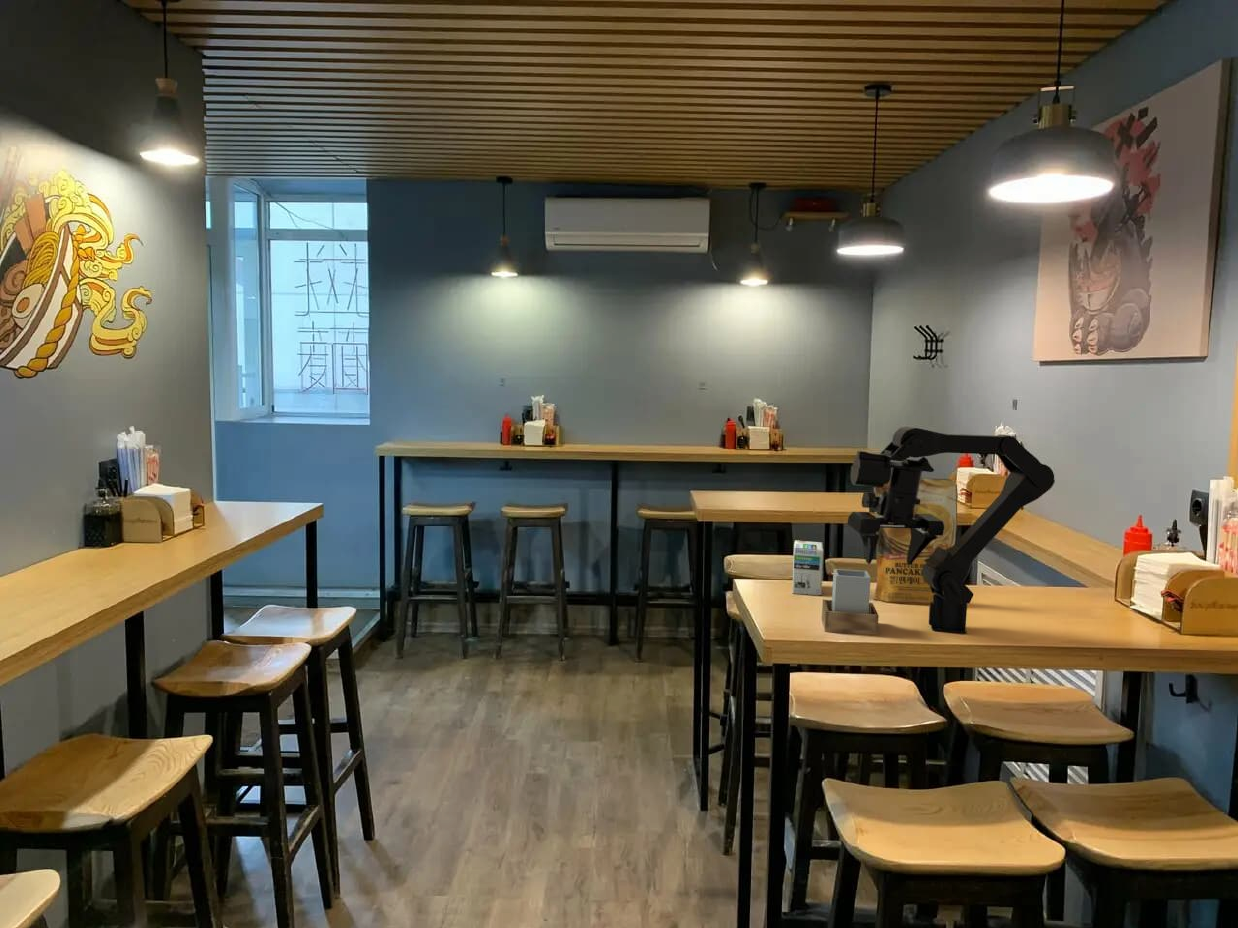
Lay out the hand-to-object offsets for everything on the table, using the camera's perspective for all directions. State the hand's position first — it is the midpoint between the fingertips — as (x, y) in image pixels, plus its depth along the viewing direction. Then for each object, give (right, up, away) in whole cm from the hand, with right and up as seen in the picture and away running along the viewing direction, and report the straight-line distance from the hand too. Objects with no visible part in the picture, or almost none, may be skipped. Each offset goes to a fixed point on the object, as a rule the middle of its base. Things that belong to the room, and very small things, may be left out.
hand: (888, 563), depth 181 cm
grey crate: (-9, -11, -3) cm, 15 cm away
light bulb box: (-11, -9, +28) cm, 31 cm away
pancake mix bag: (+11, -11, +20) cm, 25 cm away
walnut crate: (-9, -12, -3) cm, 15 cm away
